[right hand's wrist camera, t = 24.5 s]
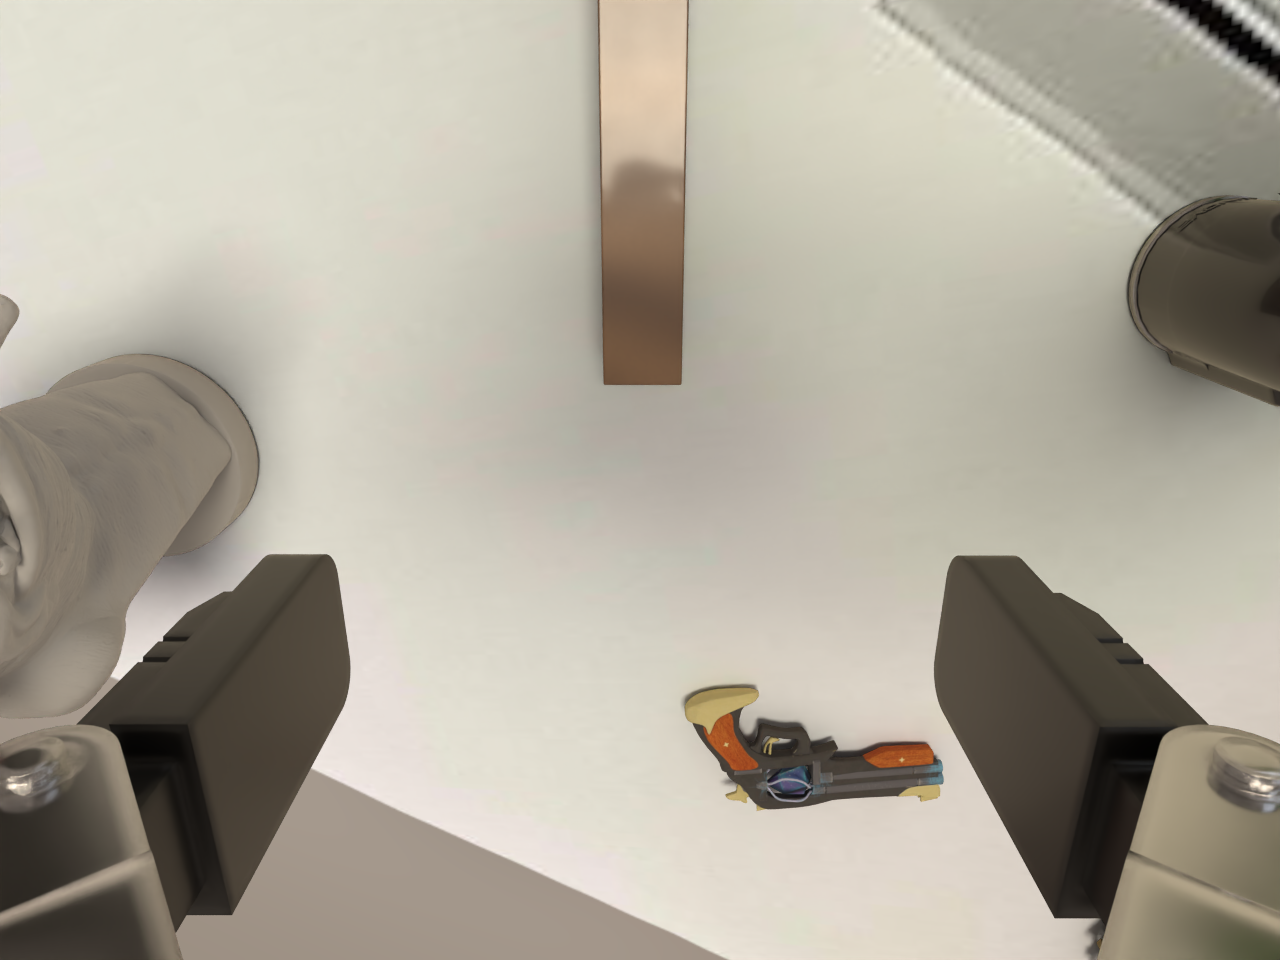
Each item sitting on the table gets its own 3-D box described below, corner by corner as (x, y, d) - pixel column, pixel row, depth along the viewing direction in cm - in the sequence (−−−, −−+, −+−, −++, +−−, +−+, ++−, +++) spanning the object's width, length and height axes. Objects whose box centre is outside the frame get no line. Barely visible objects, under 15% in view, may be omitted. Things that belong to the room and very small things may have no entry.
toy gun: (686, 704, 59) (690, 829, 61) (953, 684, 60) (947, 808, 62) (682, 685, 61) (686, 805, 64) (938, 667, 62) (932, 786, 65)
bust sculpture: (433, 373, 53) (99, 730, 20) (190, 596, 58) (-380, 1156, 26) (232, 165, 48) (-613, 191, 16) (-11, 428, 54) (-1003, 847, 21)
